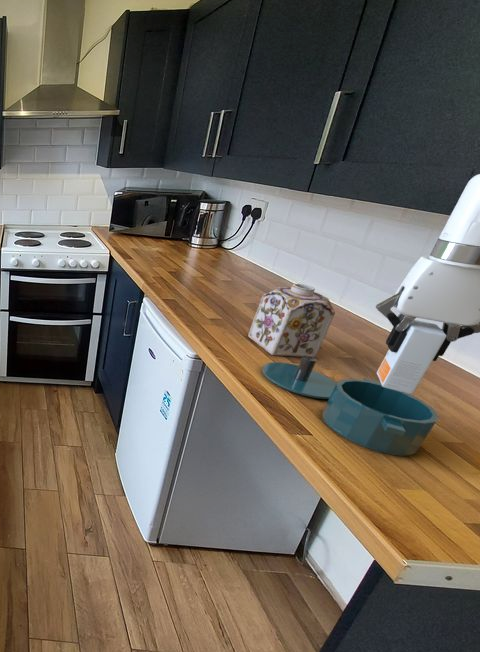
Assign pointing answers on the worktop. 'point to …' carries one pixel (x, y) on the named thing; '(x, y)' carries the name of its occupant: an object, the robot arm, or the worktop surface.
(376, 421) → the pot
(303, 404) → the worktop surface
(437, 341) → the cosmetic box
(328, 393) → the lid
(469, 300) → the robot arm
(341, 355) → the worktop surface
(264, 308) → the decorative jar
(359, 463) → the worktop surface
